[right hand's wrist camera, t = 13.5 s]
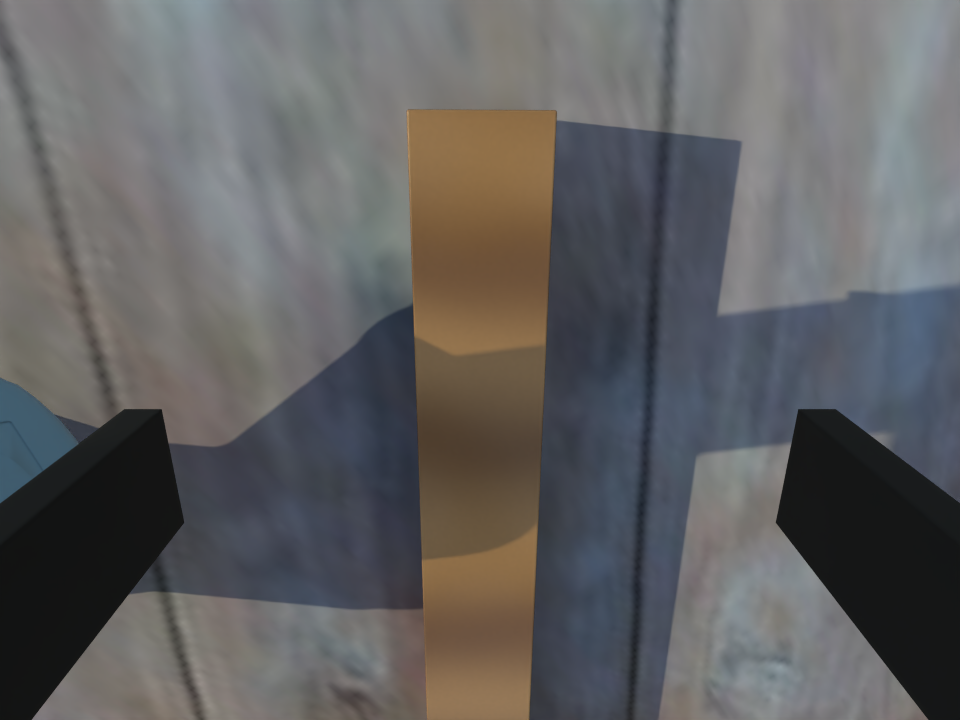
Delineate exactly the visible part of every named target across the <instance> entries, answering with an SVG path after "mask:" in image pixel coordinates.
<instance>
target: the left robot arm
mask: <svg viewBox="0 0 960 720" xmlns="http://www.w3.org/2000/svg"><path fill="white" fill-rule="evenodd" d="M78 444H79V443H78V442H77V440H76V439H75V438H74V436H73V435H72V434H71V432H70V431H69V430H68V429H67V428H66V427H65V425H64V424H63V423H62V422H61V421H60V420H59V419H58V418H57V417H56V416H55V415H54V414H53V413H52V412H51V411H50V410H49V409H47V408H46V407H45V406H44V405H43V404H42V403H41V402H40V401H39V400H37V399H36V398H35V397H34V396H32V395H31V394H30V393H28V392H27V391H26V390H24V389H23V388H21V387H20V386H19V385H17V384H14V383H11V382H8V381H6V380H4V379H2V378H0V503H1V502H3V501H4V500H5V499H7V498H8V497H9V496H10V495H12V494H13V493H14V492H16V491H17V490H18V489H20V488H21V487H22V486H24V485H25V484H26V483H28V482H29V481H30V480H32V479H33V478H34V477H36V476H37V475H38V474H40V473H41V472H42V471H44V470H45V469H46V468H47V467H49V466H50V465H51V464H53V463H54V462H55V461H57V460H58V459H59V458H61V457H62V456H63V455H65V454H66V453H67V452H69V451H70V450H71V449H73V448H74V447H75V446H77V445H78Z"/></svg>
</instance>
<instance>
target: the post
mask: <svg viewBox="0 0 960 720" xmlns="http://www.w3.org/2000/svg"><path fill="white" fill-rule="evenodd" d="M556 120H557V111H555V110H422V109H408V110H407V136H408V166H409V195H410V225H411V255H412V284H413V314H414V343H415V373H416V403H417V432H418V462H419V492H420V521H421V551H422V581H423V610H424V640H425V670H426V699H427V720H529V716H530V694H531V672H532V650H533V628H534V605H535V583H536V561H537V539H538V517H539V495H540V473H541V451H542V429H543V407H544V385H545V363H546V341H547V319H548V296H549V274H550V252H551V230H552V208H553V186H554V164H555V142H556Z"/></svg>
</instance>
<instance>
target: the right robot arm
mask: <svg viewBox="0 0 960 720" xmlns="http://www.w3.org/2000/svg"><path fill="white" fill-rule="evenodd" d="M183 523H184V520H183V514H182V509H181V504H180V499H179V494H178V489H177V484H176V479H175V474H174V469H173V464H172V459H171V454H170V449H169V444H168V439H167V434H166V429H165V424H164V419H163V414H162V409H124V410H123V411H122V412H120V413H119V414H118V415H116V416H115V417H114V418H112V419H111V420H110V421H108V422H107V423H106V424H104V425H103V426H102V427H100V428H99V429H98V430H96V431H95V432H94V433H92V434H91V435H90V436H88V437H87V438H86V439H84V440H83V441H82V442H81V443H79V444H78V445H77V446H75V447H74V448H73V449H71V450H70V451H69V452H67V453H66V454H65V455H63V456H62V457H61V458H59V459H58V460H57V461H55V462H54V463H53V464H51V465H50V466H49V467H47V468H46V469H45V470H44V471H42V472H41V473H40V474H38V475H37V476H36V477H34V478H33V479H32V480H30V481H29V482H28V483H26V484H25V485H24V486H22V487H21V488H20V489H18V490H17V491H16V492H14V493H13V494H12V495H10V496H9V497H8V498H7V499H5V500H4V501H3V502H1V503H0V720H32V718H33V717H34V716H35V715H36V713H37V712H38V711H39V709H40V708H41V707H42V706H43V704H44V703H45V702H46V700H47V699H48V698H49V696H50V695H51V694H52V693H53V691H54V690H55V689H56V687H57V686H58V685H59V684H60V682H61V681H62V680H63V678H64V677H65V676H66V675H67V673H68V672H69V671H70V669H71V668H72V667H73V665H74V664H75V663H76V662H77V660H78V659H79V658H80V656H81V655H82V654H83V653H84V651H85V650H86V649H87V647H88V646H89V645H90V644H91V642H92V641H93V640H94V638H95V637H96V636H97V634H98V633H99V632H100V631H101V629H102V628H103V627H104V625H105V624H106V623H107V622H108V620H109V619H110V618H111V616H112V615H113V614H114V613H115V611H116V610H117V609H118V607H119V606H120V605H121V603H122V602H123V601H124V600H125V598H126V597H127V596H128V594H129V593H130V592H131V591H132V589H133V588H134V587H135V585H136V584H137V583H138V582H139V580H140V579H141V578H142V576H143V575H144V574H145V572H146V571H147V570H148V569H149V567H150V566H151V565H152V563H153V562H154V561H155V560H156V558H157V557H158V556H159V554H160V553H161V552H162V551H163V549H164V548H165V547H166V545H167V544H168V543H169V541H170V540H171V539H172V538H173V536H174V535H175V534H176V532H177V531H178V530H179V529H180V527H181V526H182V525H183ZM776 523H777V525H778V526H779V527H780V529H781V530H782V531H783V532H784V534H785V535H786V536H787V538H788V539H789V540H790V541H791V543H792V544H793V545H794V547H795V548H796V549H797V551H798V552H799V553H800V554H801V556H802V557H803V558H804V560H805V561H806V562H807V563H808V565H809V566H810V567H811V569H812V570H813V571H814V572H815V574H816V575H817V576H818V578H819V579H820V580H821V582H822V583H823V584H824V585H825V587H826V588H827V589H828V591H829V592H830V593H831V594H832V596H833V597H834V598H835V600H836V601H837V602H838V603H839V605H840V606H841V607H842V609H843V610H844V611H845V613H846V614H847V615H848V616H849V618H850V619H851V620H852V622H853V623H854V624H855V625H856V627H857V628H858V629H859V631H860V632H861V633H862V634H863V636H864V637H865V638H866V640H867V641H868V642H869V644H870V645H871V646H872V647H873V649H874V650H875V651H876V653H877V654H878V655H879V656H880V658H881V659H882V660H883V662H884V663H885V664H886V665H887V667H888V668H889V669H890V671H891V672H892V673H893V675H894V676H895V677H896V678H897V680H898V681H899V682H900V684H901V685H902V686H903V687H904V689H905V690H906V691H907V693H908V694H909V695H910V697H911V698H912V699H913V700H914V702H915V703H916V704H917V706H918V707H919V708H920V709H921V711H922V712H923V713H924V715H925V716H926V717H927V718H928V720H960V503H959V502H957V501H956V500H955V499H953V498H952V497H951V496H950V495H948V494H947V493H946V492H944V491H943V490H942V489H940V488H939V487H938V486H936V485H935V484H934V483H932V482H931V481H930V480H928V479H927V478H926V477H924V476H923V475H922V474H920V473H919V472H918V471H916V470H915V469H914V468H913V467H911V466H910V465H909V464H907V463H906V462H905V461H903V460H902V459H901V458H899V457H898V456H897V455H895V454H894V453H893V452H891V451H890V450H889V449H887V448H886V447H885V446H883V445H882V444H881V443H879V442H878V441H877V440H876V439H874V438H873V437H872V436H870V435H869V434H868V433H866V432H865V431H864V430H862V429H861V428H860V427H858V426H857V425H856V424H854V423H853V422H852V421H850V420H849V419H848V418H846V417H845V416H844V415H842V414H841V413H840V412H838V411H837V410H836V409H798V414H797V419H796V424H795V429H794V434H793V439H792V444H791V449H790V454H789V459H788V464H787V469H786V474H785V479H784V484H783V489H782V494H781V499H780V504H779V509H778V514H777V520H776Z"/></svg>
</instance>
